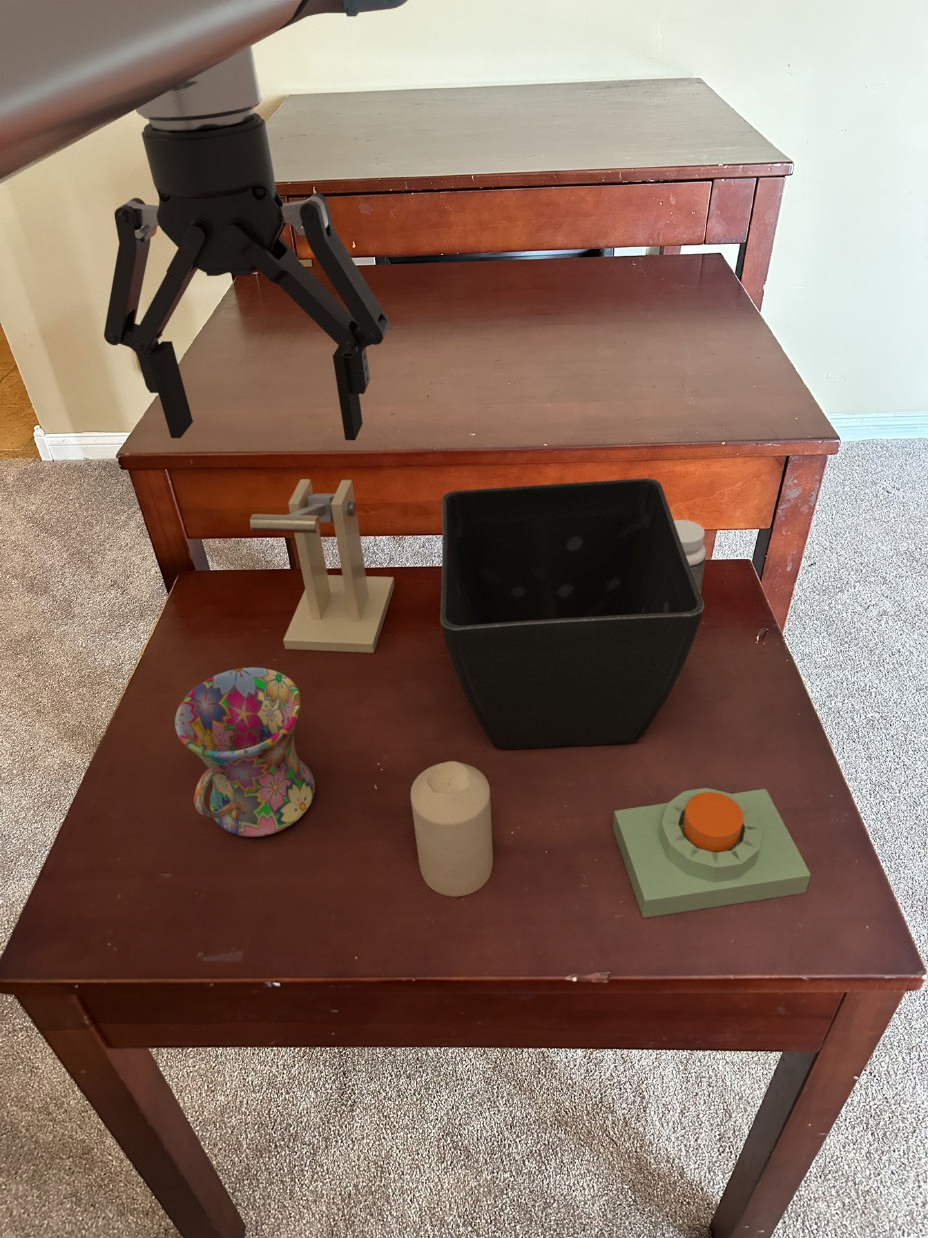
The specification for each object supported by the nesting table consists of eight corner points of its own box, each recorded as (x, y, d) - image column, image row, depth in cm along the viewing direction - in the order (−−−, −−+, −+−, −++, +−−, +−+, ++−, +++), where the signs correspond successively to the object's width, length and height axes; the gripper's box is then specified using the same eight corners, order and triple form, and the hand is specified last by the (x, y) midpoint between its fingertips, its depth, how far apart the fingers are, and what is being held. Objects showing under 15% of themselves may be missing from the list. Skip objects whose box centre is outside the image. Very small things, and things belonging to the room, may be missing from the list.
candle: (494, 896, 65) (490, 807, 59) (419, 899, 65) (406, 810, 59) (492, 835, 69) (488, 746, 63) (421, 837, 70) (410, 749, 63)
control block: (642, 918, 63) (647, 885, 61) (612, 828, 69) (615, 794, 67) (805, 893, 64) (816, 859, 62) (761, 806, 70) (769, 772, 68)
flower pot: (453, 783, 74) (439, 625, 63) (452, 636, 89) (441, 488, 78) (684, 772, 73) (709, 612, 63) (644, 627, 88) (659, 477, 78)
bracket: (374, 653, 87) (355, 524, 78) (284, 649, 88) (255, 522, 79) (394, 585, 96) (379, 462, 86) (313, 583, 97) (289, 461, 88)
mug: (239, 750, 78) (211, 659, 71) (338, 768, 76) (319, 676, 69) (169, 863, 69) (129, 770, 62) (279, 887, 67) (250, 794, 60)
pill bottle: (695, 584, 93) (705, 516, 88) (703, 612, 89) (713, 543, 84) (649, 585, 93) (656, 517, 88) (655, 613, 90) (662, 544, 85)
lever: (315, 540, 73) (314, 511, 72) (250, 538, 73) (248, 509, 73) (355, 519, 85) (355, 494, 85) (299, 518, 86) (299, 493, 85)
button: (693, 856, 63) (696, 840, 62) (675, 811, 66) (677, 796, 65) (748, 847, 63) (752, 832, 62) (727, 804, 66) (730, 788, 65)
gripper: (-19, 135, 54) (91, 452, 67) (389, 121, 50) (420, 457, 64) (41, 111, 59) (132, 407, 73) (411, 97, 56) (435, 409, 69)
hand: (267, 431), depth 68 cm, fingers open, 13 cm apart
